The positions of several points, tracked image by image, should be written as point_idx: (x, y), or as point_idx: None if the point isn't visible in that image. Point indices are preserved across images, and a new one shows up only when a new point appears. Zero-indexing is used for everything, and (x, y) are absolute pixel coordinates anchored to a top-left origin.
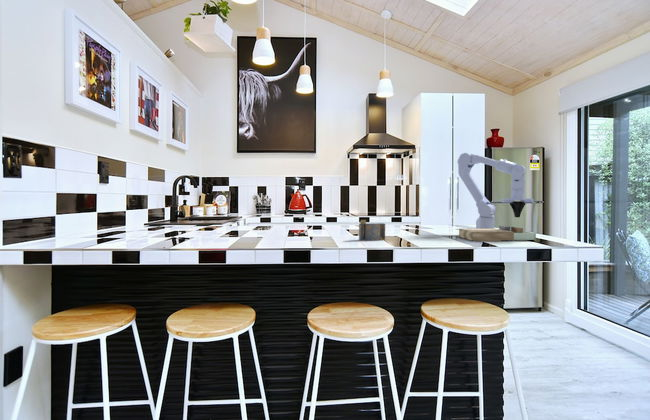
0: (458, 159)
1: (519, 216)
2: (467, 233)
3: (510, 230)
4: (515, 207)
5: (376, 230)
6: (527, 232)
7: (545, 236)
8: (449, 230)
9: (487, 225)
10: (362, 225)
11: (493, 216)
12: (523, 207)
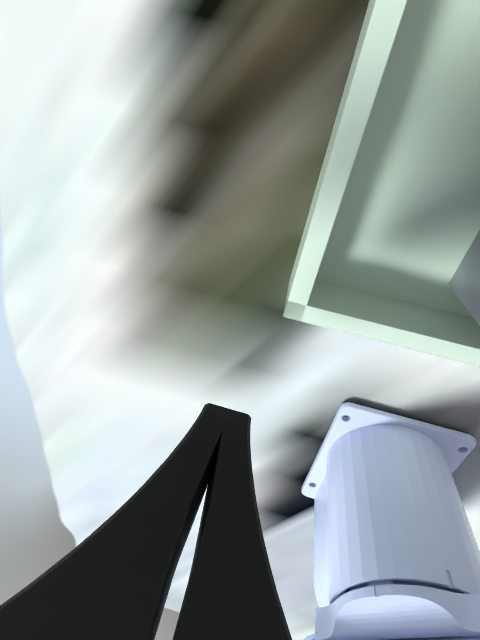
0: None
1: (211, 412)
2: None
3: (360, 315)
4: (281, 627)
5: None
6: (401, 13)
7: (6, 235)
8: None
9: (451, 505)
10: None
11: (399, 597)
12: (71, 552)
